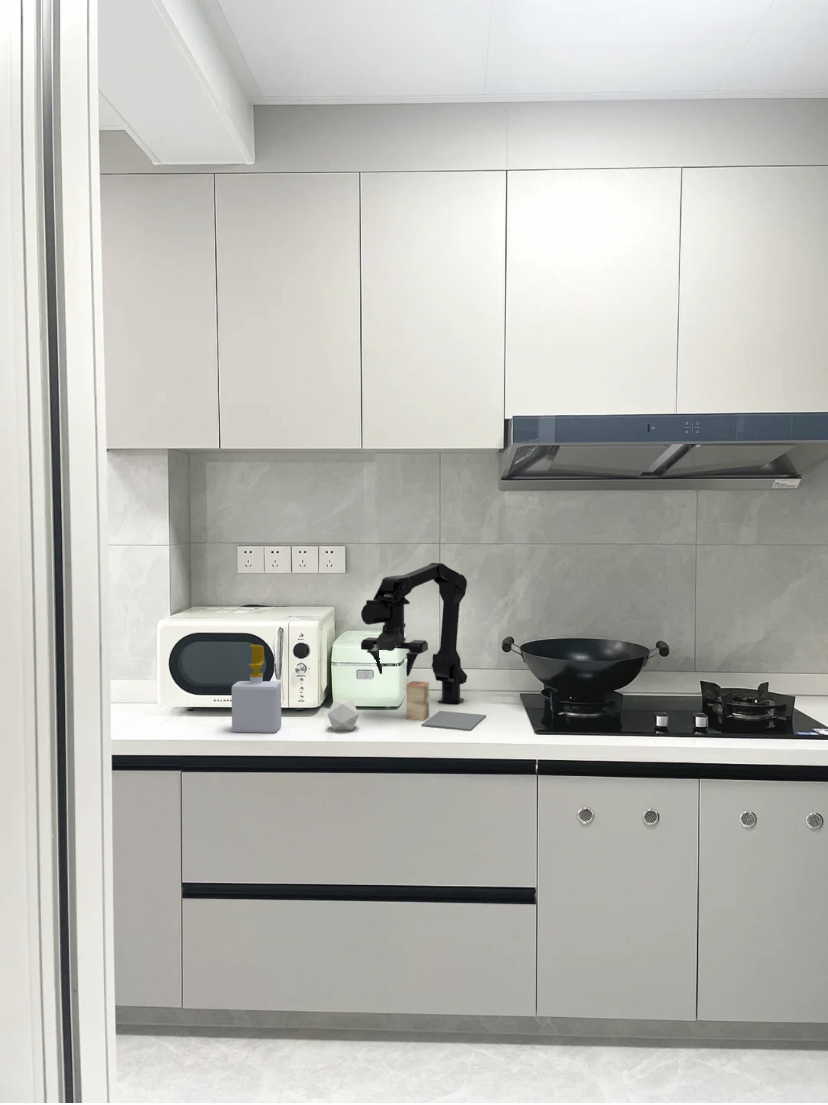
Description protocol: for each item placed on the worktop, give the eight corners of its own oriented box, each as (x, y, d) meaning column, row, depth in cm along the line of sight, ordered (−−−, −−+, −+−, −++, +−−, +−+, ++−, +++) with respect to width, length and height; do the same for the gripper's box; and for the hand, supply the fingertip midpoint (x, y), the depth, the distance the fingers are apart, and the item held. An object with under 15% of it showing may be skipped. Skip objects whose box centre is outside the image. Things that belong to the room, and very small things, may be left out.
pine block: (412, 715, 239) (412, 680, 239) (428, 716, 238) (428, 682, 237) (406, 719, 235) (406, 684, 234) (423, 720, 233) (423, 685, 232)
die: (346, 737, 218) (365, 706, 221) (318, 720, 220) (338, 689, 222) (348, 740, 226) (366, 710, 229) (321, 723, 227) (340, 693, 230)
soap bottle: (231, 732, 221) (230, 645, 219) (238, 726, 227) (237, 641, 226) (276, 733, 220) (275, 646, 219) (281, 726, 227) (281, 642, 225)
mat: (439, 712, 242) (439, 710, 242) (486, 716, 238) (486, 714, 237) (421, 726, 227) (421, 724, 227) (470, 730, 223) (470, 729, 222)
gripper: (353, 623, 232) (353, 678, 233) (415, 626, 226) (416, 682, 227) (368, 618, 243) (368, 670, 244) (428, 620, 237) (428, 674, 238)
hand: (394, 674), depth 238 cm, fingers open, 8 cm apart
